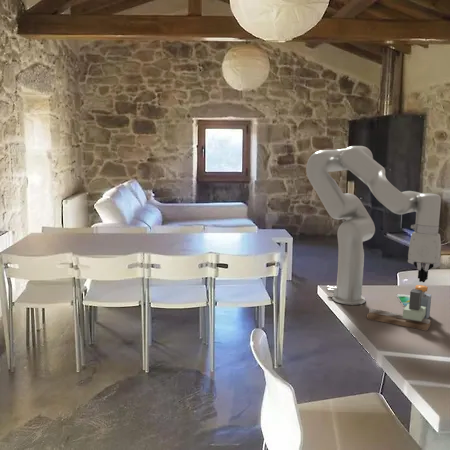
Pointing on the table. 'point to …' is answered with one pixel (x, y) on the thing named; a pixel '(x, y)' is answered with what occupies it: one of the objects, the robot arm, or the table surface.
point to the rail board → (397, 319)
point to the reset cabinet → (426, 304)
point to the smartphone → (403, 299)
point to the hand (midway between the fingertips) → (422, 281)
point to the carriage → (415, 306)
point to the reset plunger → (423, 288)
